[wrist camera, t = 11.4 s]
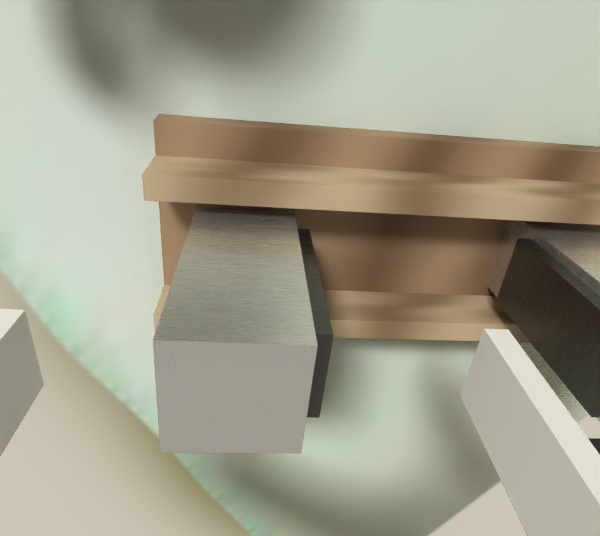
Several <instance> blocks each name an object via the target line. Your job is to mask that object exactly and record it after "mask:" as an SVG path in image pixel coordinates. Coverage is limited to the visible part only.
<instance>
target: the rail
mask: <svg viewBox="0 0 600 536" xmlns="http://www.w3.org/2000/svg"><path fill="white" fill-rule="evenodd" d="M154 135H155V150H156V156H155V157H154V159H153V160H152V161H151V163H150V164H149V166H148V167H147V168H146V170H145V171H144V172H143V174H142V179H143V191H144V200H146V201H159V210H160V225H161V241H162V256H163V271H164V287H163V290H162V293H161V296H160V299H159V302H158V304H157V307H156V310H155V313H154V324H155V332H156V329H157V326H158V323H159V320H160V317H161V314H162V311H163V308H164V305H165V302H166V299H167V295H168V292H169V289H170V286H171V283H172V280H173V277H174V274H175V271H176V268H177V265H178V262H179V259H180V256H181V252H182V249H183V246H184V243H185V240H186V237H187V234H188V231H189V228H190V225H191V222H192V219H193V216H194V213H195V209H196V206H197V203H202V204H220V205H239V206H257V207H276V208H294V212H295V217H296V223H297V228H303V229H310V234H311V238H312V243H313V247H314V251H315V256H316V260H317V265H318V269H319V273H320V278H321V282H322V287H323V291H324V295H325V300H326V304H327V309H328V313H329V317H330V322H331V326H332V330H333V338H364V339H408V340H453V341H480V338H481V336H482V333H483V330H484V329H508V330H509V331H510V332H511V334H512V335H513V336H514V338H515V339H516V341H517V342H530V341H529V340H528V339H527V338H526V336H525V335H524V334H523V333H522V331H521V330H520V329H519V328H518V327H517V325H516V324H515V323H514V322H513V320H512V319H511V318H510V317H509V316H508V314H507V313H506V312H505V311H504V309H503V308H502V307H501V306H500V305H499V303H498V302H497V301H496V299H497V297H496V296H495V294H494V293H493V292H492V291H491V290H490V288H489V287H488V286H487V284H488V281H489V278H490V275H491V272H492V269H493V266H494V264H495V261H496V258H497V255H498V252H499V249H500V246H501V243H502V240H503V237H504V234H505V231H506V228H507V225H508V222H509V220H518V221H537V222H556V223H574V224H593V225H600V147H594V146H581V145H567V144H554V143H540V142H527V141H513V140H500V139H486V138H473V137H459V136H446V135H432V134H419V133H405V132H392V131H378V130H365V129H351V128H338V127H324V126H311V125H297V124H283V123H270V122H256V121H243V120H229V119H216V118H202V117H189V116H175V115H162V114H159V115H158V116H157V117H156V118H155V119H154Z"/></svg>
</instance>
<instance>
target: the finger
mask: <svg viewBox="0 0 600 536" xmlns="http://www.w3.org/2000/svg"><path fill="white" fill-rule="evenodd" d="M487 286H488V287H489V288H490V290H491V291H492V292H493V293H494V294H495V296H496V297H497V299H496V301H497V302H498V303H499V305H500V306H501V307H502V308H503V309H504V311H505V312H506V313H507V314H508V316H509V317H510V318H511V319H512V320H513V322H514V323H515V324H516V325H517V327H518V328H519V329H520V330H521V331H522V333H523V334H524V335H525V336H526V338H527V339H528V340H529V341H530V342H531V344H532V345H533V346H534V347H535V349H536V350H537V351H538V352H539V353H540V355H541V356H542V357H543V358H544V360H545V361H546V362H547V363H548V364H549V366H550V367H551V368H552V369H553V371H554V372H555V373H556V374H557V375H558V377H559V378H560V379H561V380H562V382H563V383H564V384H565V385H566V387H567V388H568V389H569V390H570V391H571V393H572V394H573V395H574V396H575V398H576V399H577V400H578V401H579V402H580V404H581V405H582V406H583V407H584V409H585V410H586V411H587V412H588V413H589V415H590V416H591V417H597V419H598V420H599V421H600V225H593V224H574V223H556V222H537V221H518V220H509V222H508V225H507V228H506V231H505V234H504V237H503V240H502V243H501V246H500V249H499V252H498V255H497V258H496V261H495V264H494V266H493V269H492V272H491V275H490V278H489V281H488V284H487Z"/></svg>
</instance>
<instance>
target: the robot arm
mask: <svg viewBox="0 0 600 536" xmlns="http://www.w3.org/2000/svg"><path fill="white" fill-rule="evenodd" d="M43 385H44V383H43V380H42V375H41V372H40V368H39V364H38V360H37V356H36V352H35V348H34V344H33V341H32V336H31V333H30V329H29V325H28V321H27V317H26V313H25V310H12V309H10V310H9V309H0V456H1V454H2V453H3V451H4V449H5V448H6V446H7V445H8V443H9V441H10V439H11V438H12V436H13V435H14V433H15V431H16V430H17V428H18V426H19V425H20V423H21V421H22V420H23V418H24V416H25V415H26V413H27V411H28V410H29V408H30V406H31V405H32V403H33V402H34V400H35V398H36V396H37V395H38V393H39V392H40V390H41V388H42V386H43ZM460 396H461V399H462V401H463V403H464V405H465V407H466V409H467V411H468V413H469V415H470V417H471V419H472V421H473V423H474V426H475V428H476V430H477V432H478V434H479V436H480V438H481V440H482V442H483V444H484V446H485V448H486V450H487V453H488V455H489V457H490V459H491V461H492V463H493V465H494V467H495V469H496V471H497V473H498V475H499V477H500V479H501V482H502V484H503V486H504V488H505V490H506V492H507V494H508V496H509V498H510V500H511V502H512V504H513V506H514V509H515V511H516V513H517V515H518V517H519V519H520V521H521V523H522V525H523V527H524V529H525V531H526V533H527V536H600V439H588V438H587V437H586V435H585V434H584V432H583V431H582V430H581V428H580V427H579V425H578V424H577V423H576V421H575V420H574V419H573V417H572V416H571V415H570V413H569V412H568V410H567V409H566V408H565V406H564V405H563V404H562V402H561V401H560V399H559V398H558V397H557V395H556V394H555V393H554V391H553V390H552V388H551V387H550V386H549V384H548V383H547V382H546V380H545V379H544V378H543V376H542V375H541V373H540V372H539V371H538V369H537V368H536V367H535V365H534V364H533V362H532V361H531V360H530V358H529V357H528V356H527V354H526V353H525V351H524V350H523V349H522V347H521V346H520V345H519V343H518V342H517V341H516V339H515V338H514V336H513V335H512V334H511V332H510V331H509V330H508V329H484V330H483V333H482V336H481V338H480V341H479V344H478V347H477V350H476V352H475V355H474V358H473V361H472V364H471V366H470V369H469V372H468V375H467V377H466V380H465V383H464V386H463V389H462V391H461V394H460Z"/></svg>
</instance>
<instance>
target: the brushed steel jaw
mask: <svg viewBox="0 0 600 536" xmlns="http://www.w3.org/2000/svg"><path fill="white" fill-rule="evenodd" d="M332 340H333V330H332V326H331V322H330V317H329V313H328V309H327V304H326V300H325V295H324V291H323V287H322V282H321V278H320V273H319V269H318V265H317V260H316V256H315V251H314V247H313V243H312V238H311V234H310V229H303V228H297V223H296V217H295V212H294V208H276V207H257V206H239V205H220V204H202V203H197V206H196V209H195V213H194V216H193V219H192V222H191V225H190V228H189V231H188V234H187V237H186V240H185V243H184V246H183V249H182V252H181V256H180V259H179V262H178V265H177V268H176V271H175V274H174V277H173V280H172V283H171V286H170V289H169V292H168V295H167V299H166V302H165V305H164V308H163V311H162V314H161V317H160V320H159V323H158V326H157V329H156V332H155V335H154V338H153V349H154V364H155V379H156V394H157V409H158V424H159V438H160V452H161V453H301V451H302V444H303V438H304V431H305V425H306V418H307V417H319V415H320V410H321V404H322V398H323V392H324V386H325V381H326V375H327V369H328V363H329V357H330V352H331V346H332Z"/></svg>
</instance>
